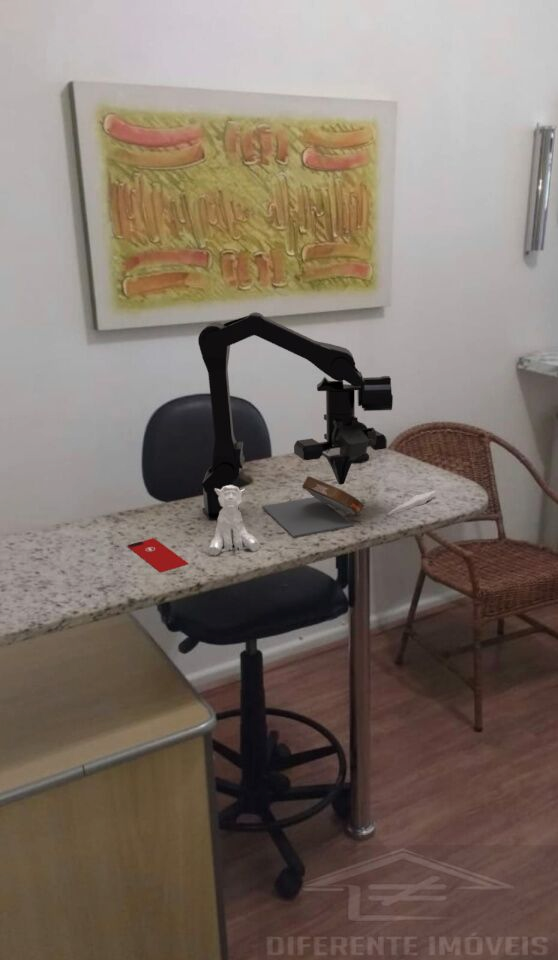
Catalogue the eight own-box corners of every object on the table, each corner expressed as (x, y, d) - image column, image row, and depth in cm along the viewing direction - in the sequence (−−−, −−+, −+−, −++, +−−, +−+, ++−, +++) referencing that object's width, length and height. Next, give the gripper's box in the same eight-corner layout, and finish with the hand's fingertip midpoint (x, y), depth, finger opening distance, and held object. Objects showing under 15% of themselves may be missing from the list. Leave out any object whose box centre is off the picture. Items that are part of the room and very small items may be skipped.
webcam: (341, 464, 188) (341, 425, 185) (337, 455, 195) (336, 418, 192) (372, 462, 188) (372, 424, 185) (366, 453, 195) (366, 416, 192)
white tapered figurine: (430, 495, 164) (430, 487, 164) (439, 498, 162) (439, 490, 162) (382, 516, 156) (382, 508, 155) (392, 520, 154) (392, 511, 153)
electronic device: (189, 566, 136) (154, 540, 148) (189, 563, 136) (153, 537, 148) (160, 575, 133) (126, 547, 145) (160, 572, 133) (126, 545, 145)
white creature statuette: (209, 557, 138) (204, 496, 134) (204, 539, 146) (199, 481, 142) (259, 551, 140) (256, 491, 136) (252, 534, 148) (248, 476, 144)
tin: (371, 510, 152) (351, 490, 147) (363, 523, 152) (342, 503, 146) (322, 489, 163) (301, 470, 158) (314, 501, 163) (293, 482, 157)
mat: (293, 537, 145) (293, 535, 145) (262, 507, 161) (262, 506, 161) (353, 526, 150) (353, 524, 149) (317, 498, 166) (317, 496, 165)
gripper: (314, 426, 141) (315, 503, 146) (401, 414, 147) (399, 489, 152) (292, 413, 151) (294, 486, 156) (374, 403, 157) (373, 473, 162)
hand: (341, 484), depth 156 cm, fingers closed
